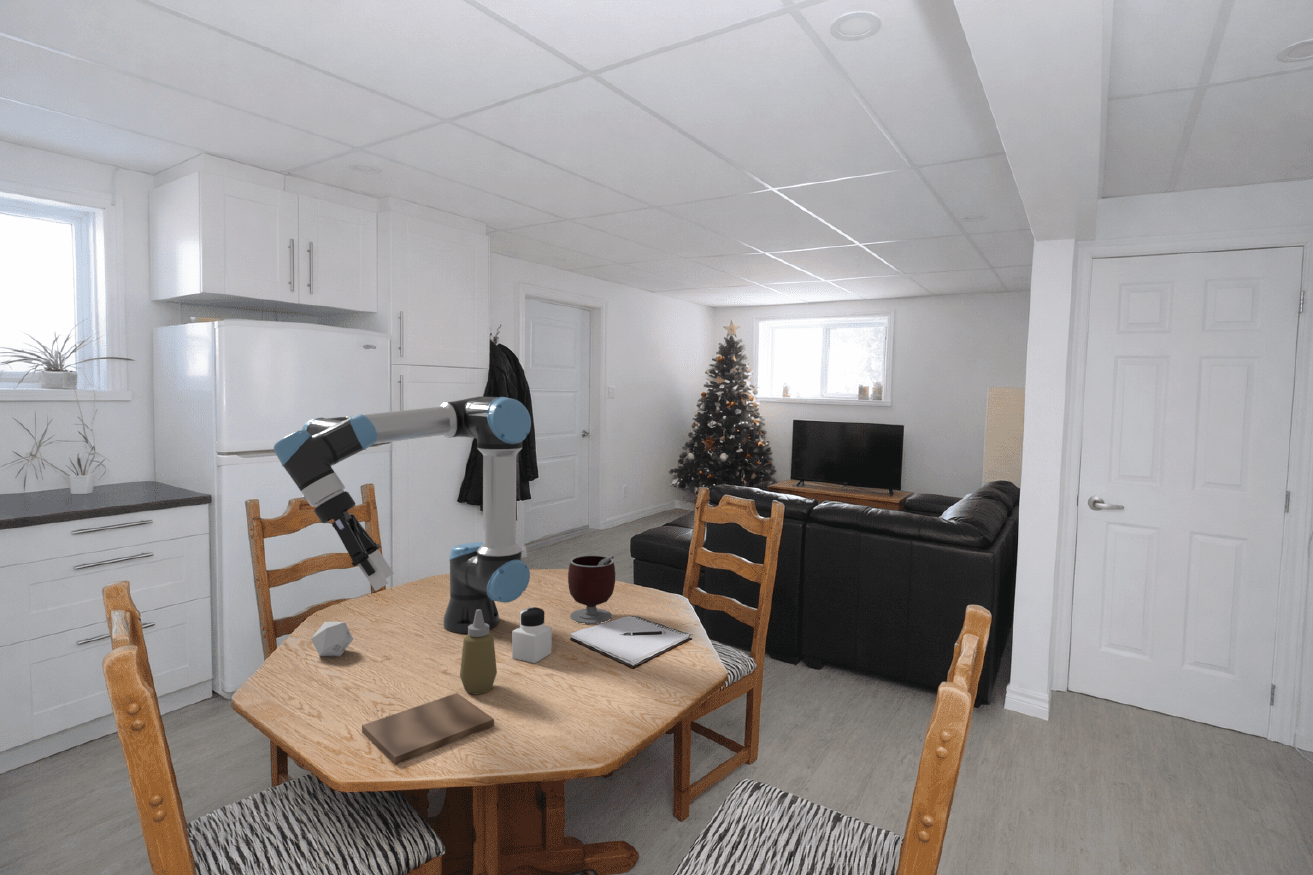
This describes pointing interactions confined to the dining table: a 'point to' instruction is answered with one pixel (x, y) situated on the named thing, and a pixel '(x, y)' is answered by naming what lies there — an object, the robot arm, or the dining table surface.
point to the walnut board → (426, 727)
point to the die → (332, 639)
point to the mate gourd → (591, 586)
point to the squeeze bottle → (478, 657)
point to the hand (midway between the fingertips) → (385, 581)
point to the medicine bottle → (531, 636)
